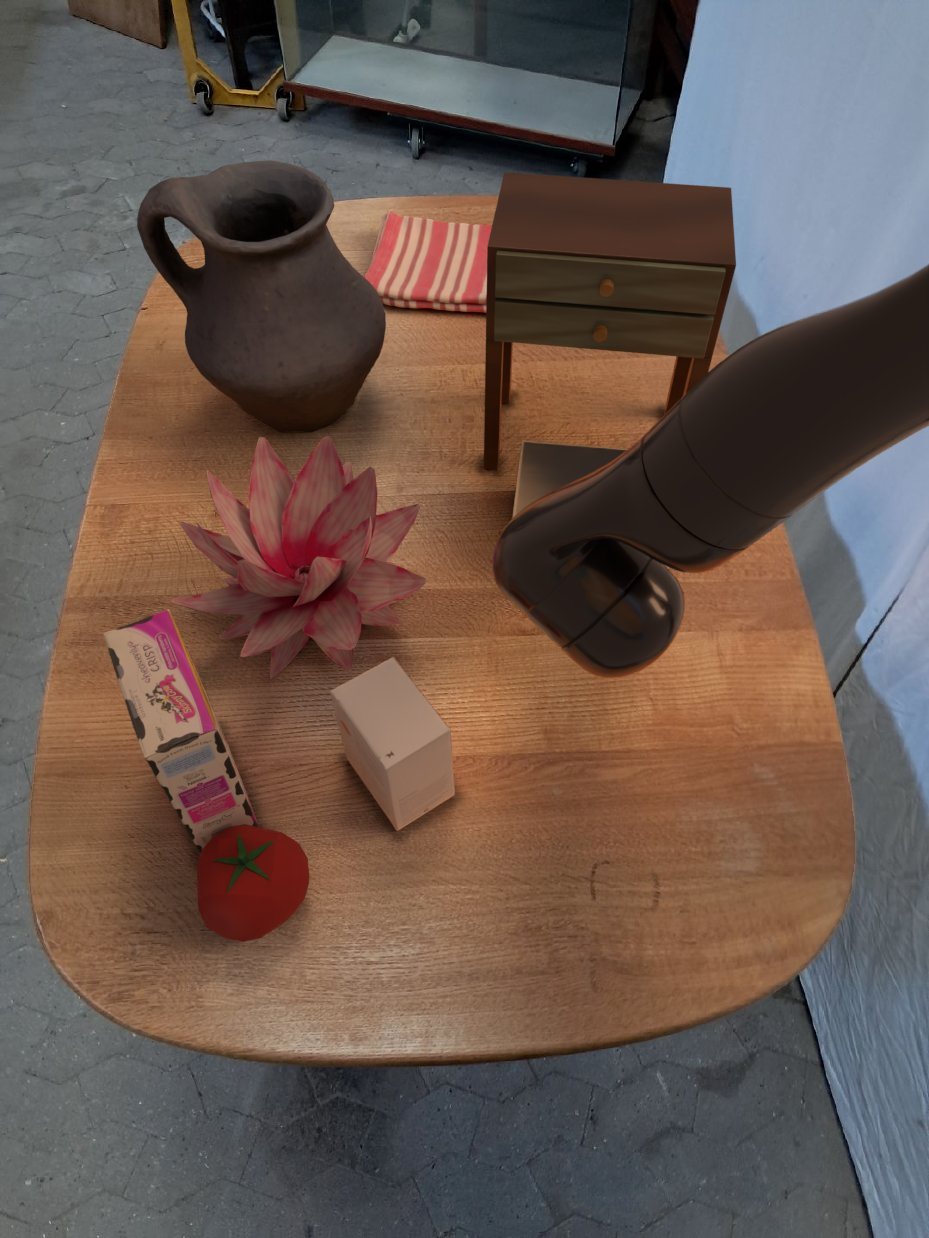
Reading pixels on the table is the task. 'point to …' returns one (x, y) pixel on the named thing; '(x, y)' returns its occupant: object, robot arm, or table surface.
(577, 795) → the table surface
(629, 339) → the drawer unit
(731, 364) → the robot arm
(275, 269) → the pitcher
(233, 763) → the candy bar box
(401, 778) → the small box
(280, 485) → the decorative flower
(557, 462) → the storage box
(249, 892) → the tomato
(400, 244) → the dish towel
